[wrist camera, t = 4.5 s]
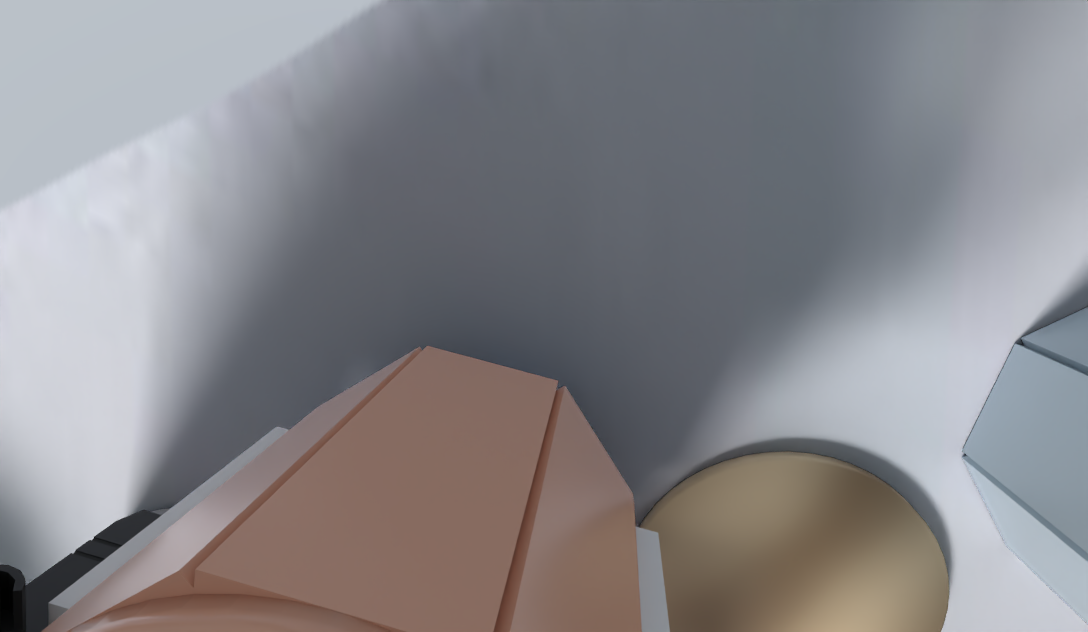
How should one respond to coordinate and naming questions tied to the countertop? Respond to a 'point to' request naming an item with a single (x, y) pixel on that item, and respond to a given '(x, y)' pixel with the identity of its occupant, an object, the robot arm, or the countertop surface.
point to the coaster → (796, 550)
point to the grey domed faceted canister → (1040, 456)
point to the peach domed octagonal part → (400, 520)
